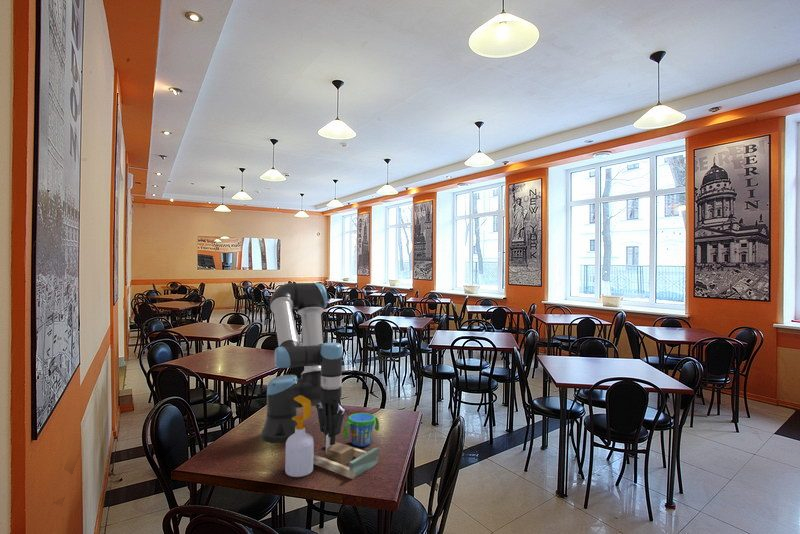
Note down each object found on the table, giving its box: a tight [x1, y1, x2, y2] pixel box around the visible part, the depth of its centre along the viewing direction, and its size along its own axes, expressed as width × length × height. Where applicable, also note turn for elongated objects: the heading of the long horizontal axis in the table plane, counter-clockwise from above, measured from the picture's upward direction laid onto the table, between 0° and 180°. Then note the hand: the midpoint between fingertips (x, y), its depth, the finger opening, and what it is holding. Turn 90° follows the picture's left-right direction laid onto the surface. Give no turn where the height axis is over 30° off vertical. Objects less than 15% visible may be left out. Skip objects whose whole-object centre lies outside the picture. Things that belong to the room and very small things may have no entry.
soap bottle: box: [284, 395, 315, 478], centre depth 136 cm, size 9×9×25 cm
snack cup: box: [342, 412, 380, 447], centre depth 159 cm, size 16×10×10 cm
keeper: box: [326, 442, 354, 466], centre depth 144 cm, size 7×6×4 cm
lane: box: [313, 440, 380, 480], centre depth 144 cm, size 24×14×5 cm, turn 56°
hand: (329, 453), depth 146 cm, fingers closed
